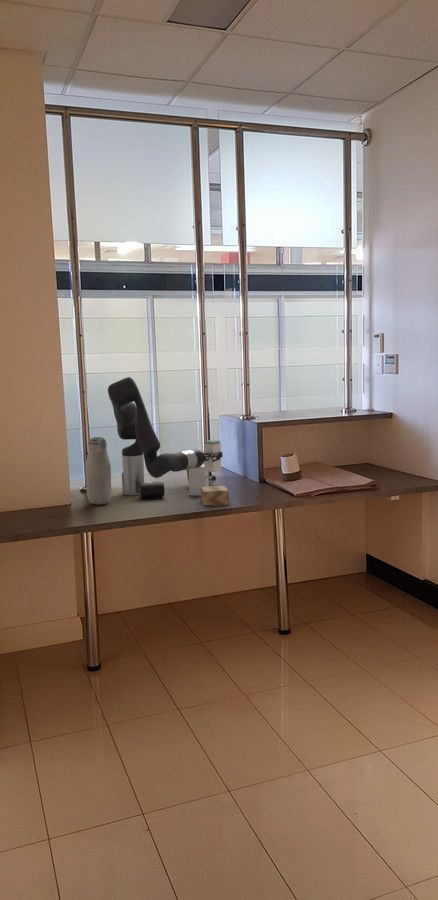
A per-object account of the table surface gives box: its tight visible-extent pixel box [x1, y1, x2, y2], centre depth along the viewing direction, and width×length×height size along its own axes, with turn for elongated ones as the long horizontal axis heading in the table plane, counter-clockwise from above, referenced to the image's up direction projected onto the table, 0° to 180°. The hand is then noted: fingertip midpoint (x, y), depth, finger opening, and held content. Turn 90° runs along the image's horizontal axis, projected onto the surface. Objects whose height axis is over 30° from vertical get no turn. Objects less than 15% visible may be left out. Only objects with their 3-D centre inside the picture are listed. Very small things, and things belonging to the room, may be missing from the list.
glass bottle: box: [84, 436, 112, 506], centre depth 291 cm, size 10×10×28 cm
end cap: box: [139, 481, 166, 500], centre depth 301 cm, size 10×7×7 cm
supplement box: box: [188, 464, 210, 496], centre depth 307 cm, size 7×7×13 cm
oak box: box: [200, 485, 230, 506], centre depth 290 cm, size 10×10×6 cm
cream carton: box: [203, 439, 222, 473], centre depth 288 cm, size 5×5×12 cm
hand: (216, 453), depth 290 cm, fingers closed on cream carton, 4 cm apart
